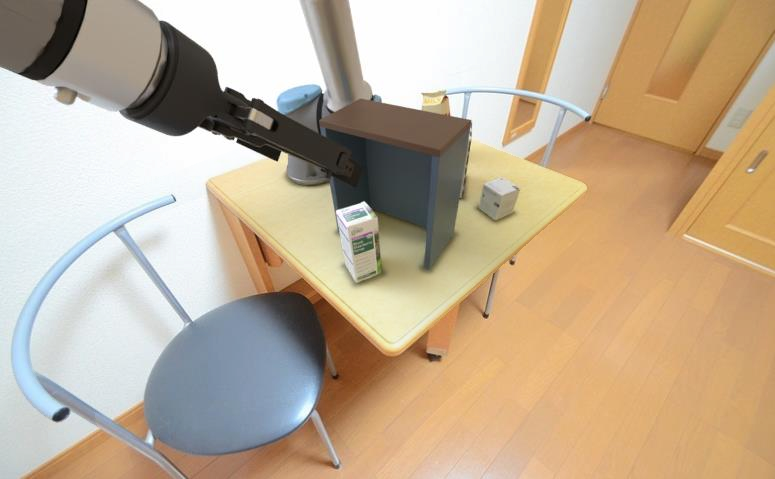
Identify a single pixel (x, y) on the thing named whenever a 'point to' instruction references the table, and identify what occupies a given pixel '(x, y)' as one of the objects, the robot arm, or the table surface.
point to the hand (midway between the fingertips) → (315, 163)
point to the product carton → (498, 198)
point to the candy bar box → (466, 162)
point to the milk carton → (436, 103)
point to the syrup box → (360, 241)
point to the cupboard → (403, 165)
